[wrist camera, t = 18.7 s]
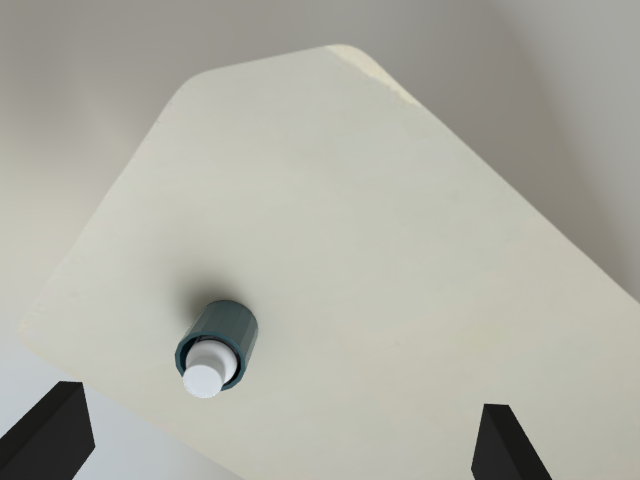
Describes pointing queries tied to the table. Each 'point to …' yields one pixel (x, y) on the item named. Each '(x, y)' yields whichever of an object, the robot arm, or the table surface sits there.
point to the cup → (222, 334)
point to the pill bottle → (209, 365)
